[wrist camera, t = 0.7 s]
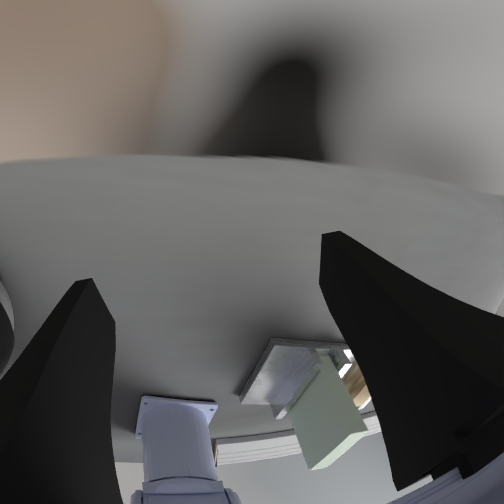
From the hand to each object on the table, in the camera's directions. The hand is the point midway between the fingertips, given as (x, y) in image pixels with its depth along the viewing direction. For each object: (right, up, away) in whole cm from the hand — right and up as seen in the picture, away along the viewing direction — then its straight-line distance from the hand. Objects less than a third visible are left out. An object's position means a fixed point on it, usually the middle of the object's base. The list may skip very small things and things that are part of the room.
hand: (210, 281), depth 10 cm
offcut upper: (+14, -14, +22) cm, 29 cm away
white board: (+10, -27, +32) cm, 44 cm away
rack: (+9, -12, +22) cm, 27 cm away
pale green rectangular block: (+7, -12, +20) cm, 25 cm away
